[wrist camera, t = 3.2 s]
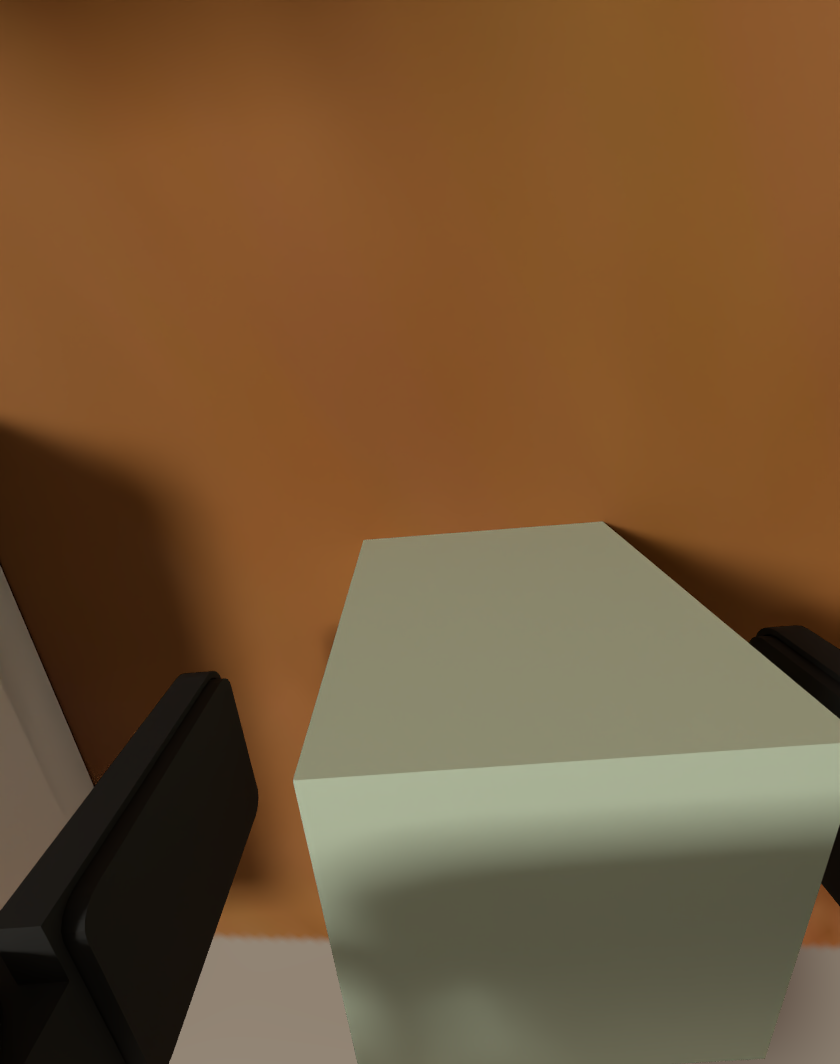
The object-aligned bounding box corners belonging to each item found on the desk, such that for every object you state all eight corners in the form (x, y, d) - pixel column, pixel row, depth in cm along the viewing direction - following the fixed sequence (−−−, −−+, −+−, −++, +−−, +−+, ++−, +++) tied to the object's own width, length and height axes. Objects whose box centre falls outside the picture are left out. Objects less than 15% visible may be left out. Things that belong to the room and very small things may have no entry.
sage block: (602, 520, 10) (866, 741, 4) (590, 713, 11) (765, 1059, 6) (363, 539, 10) (293, 779, 4) (388, 727, 11) (361, 1082, 6)
